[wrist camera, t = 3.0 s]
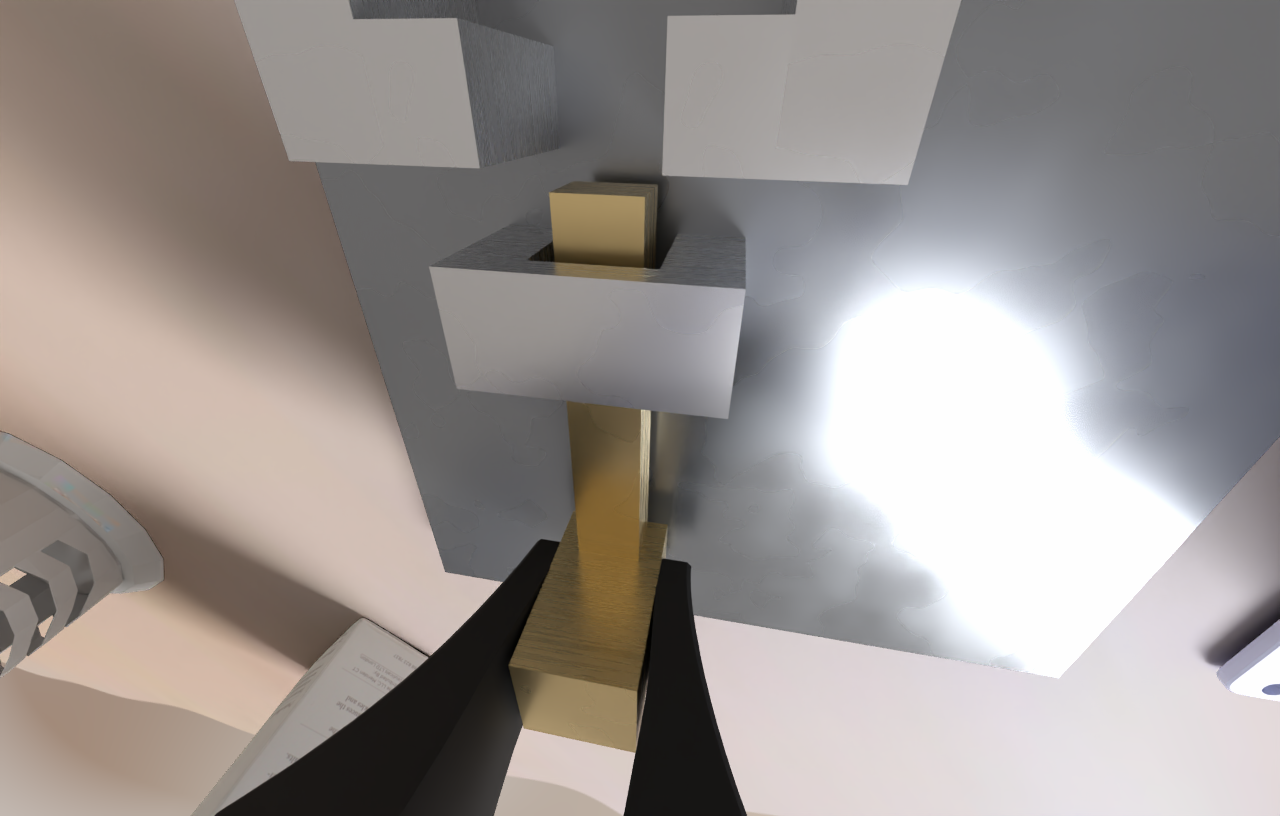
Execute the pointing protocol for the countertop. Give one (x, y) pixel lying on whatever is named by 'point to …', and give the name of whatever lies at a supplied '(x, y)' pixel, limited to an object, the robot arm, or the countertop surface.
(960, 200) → the dock
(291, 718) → the skincare box
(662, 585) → the robot arm
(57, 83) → the countertop surface
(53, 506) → the french press
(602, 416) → the pin
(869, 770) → the countertop surface
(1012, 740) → the countertop surface
